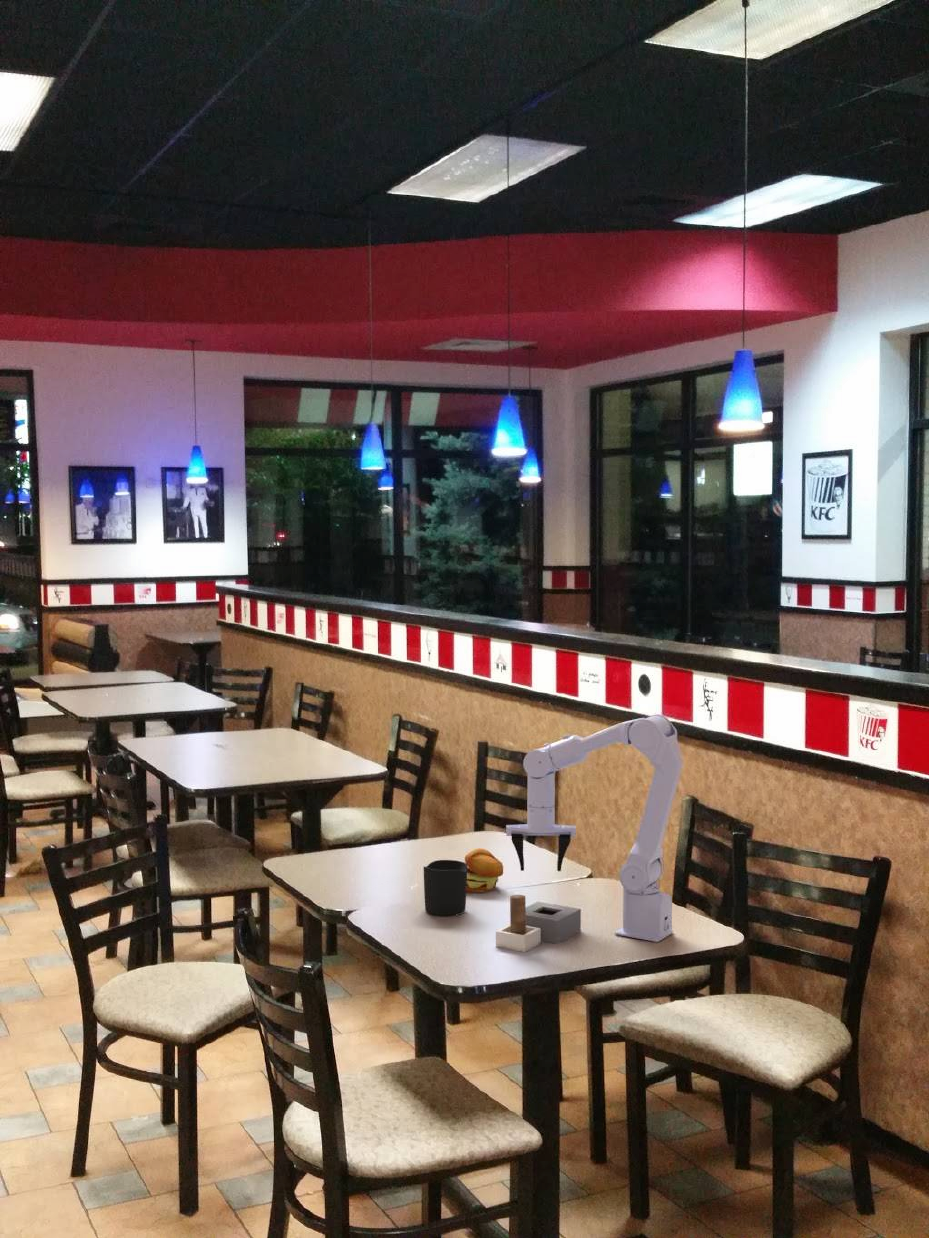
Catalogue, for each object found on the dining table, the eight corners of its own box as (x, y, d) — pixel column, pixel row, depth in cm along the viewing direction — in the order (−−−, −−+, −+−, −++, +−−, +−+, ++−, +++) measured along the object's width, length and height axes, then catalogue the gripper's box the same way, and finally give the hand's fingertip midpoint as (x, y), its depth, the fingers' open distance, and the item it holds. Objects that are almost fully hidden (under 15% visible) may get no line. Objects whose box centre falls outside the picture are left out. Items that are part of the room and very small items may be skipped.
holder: (540, 943, 240) (540, 928, 240) (524, 951, 235) (524, 936, 235) (512, 938, 244) (512, 923, 244) (495, 946, 238) (495, 931, 238)
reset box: (580, 930, 249) (580, 908, 248) (557, 943, 240) (557, 920, 240) (537, 923, 254) (537, 901, 254) (513, 935, 246) (513, 912, 245)
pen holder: (474, 913, 261) (474, 867, 260) (435, 919, 256) (435, 872, 256) (455, 903, 269) (455, 858, 269) (416, 908, 265) (416, 862, 264)
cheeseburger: (467, 879, 289) (476, 839, 288) (505, 896, 284) (515, 856, 282) (444, 888, 280) (454, 847, 279) (483, 906, 275) (493, 864, 274)
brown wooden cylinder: (528, 941, 240) (528, 895, 239) (520, 945, 237) (520, 899, 237) (516, 938, 241) (515, 893, 241) (507, 942, 239) (507, 897, 239)
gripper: (574, 802, 260) (574, 865, 260) (506, 801, 260) (506, 864, 261) (576, 808, 253) (576, 873, 253) (506, 807, 253) (505, 872, 254)
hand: (540, 869), depth 257 cm, fingers open, 7 cm apart
